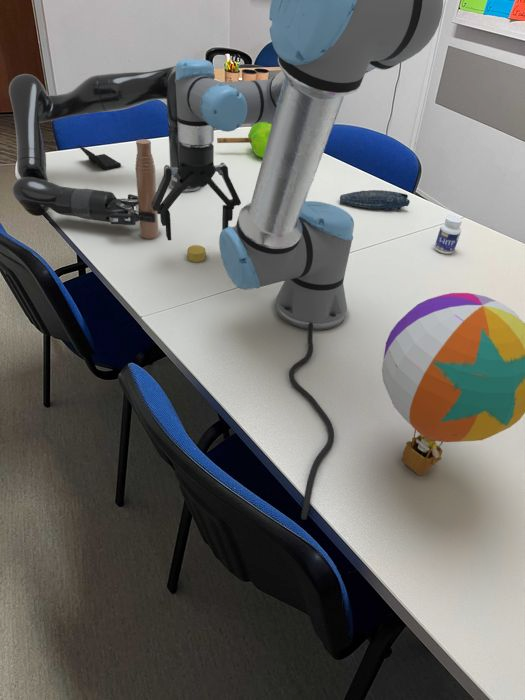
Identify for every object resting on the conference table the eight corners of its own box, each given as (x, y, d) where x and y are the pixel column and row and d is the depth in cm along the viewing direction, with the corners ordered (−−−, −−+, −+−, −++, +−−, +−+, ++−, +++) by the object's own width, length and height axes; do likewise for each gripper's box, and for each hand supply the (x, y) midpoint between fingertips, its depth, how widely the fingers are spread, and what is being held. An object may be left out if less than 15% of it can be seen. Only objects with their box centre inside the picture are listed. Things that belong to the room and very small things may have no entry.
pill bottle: (433, 251, 139) (442, 220, 133) (435, 243, 143) (444, 213, 137) (453, 256, 138) (464, 225, 132) (454, 247, 142) (465, 217, 136)
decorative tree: (214, 118, 187) (294, 118, 193) (214, 147, 194) (292, 146, 199) (220, 132, 174) (307, 132, 179) (220, 164, 180) (304, 162, 185)
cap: (184, 259, 126) (184, 251, 125) (192, 251, 129) (192, 243, 128) (200, 263, 125) (200, 255, 124) (208, 255, 128) (208, 247, 127)
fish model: (408, 214, 157) (412, 198, 153) (339, 207, 158) (341, 191, 154) (406, 206, 162) (410, 190, 159) (339, 199, 163) (341, 183, 160)
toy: (329, 455, 81) (367, 293, 62) (405, 402, 92) (457, 251, 73) (434, 545, 70) (518, 382, 52) (506, 474, 81) (598, 317, 62)
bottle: (155, 229, 137) (149, 137, 123) (161, 237, 134) (156, 143, 119) (138, 232, 135) (130, 139, 121) (144, 240, 132) (136, 145, 118)
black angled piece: (125, 159, 170) (105, 137, 162) (114, 177, 169) (93, 156, 161) (104, 155, 177) (83, 134, 168) (93, 172, 175) (71, 152, 167)
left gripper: (106, 207, 140) (167, 216, 139) (83, 230, 129) (150, 240, 127) (103, 180, 135) (166, 189, 134) (79, 201, 124) (148, 211, 123)
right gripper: (247, 136, 116) (243, 224, 129) (133, 139, 109) (141, 232, 122) (257, 146, 111) (252, 237, 124) (138, 150, 104) (146, 247, 117)
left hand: (158, 214), depth 131 cm, fingers closed on bottle, 4 cm apart
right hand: (197, 235), depth 123 cm, fingers open, 13 cm apart
